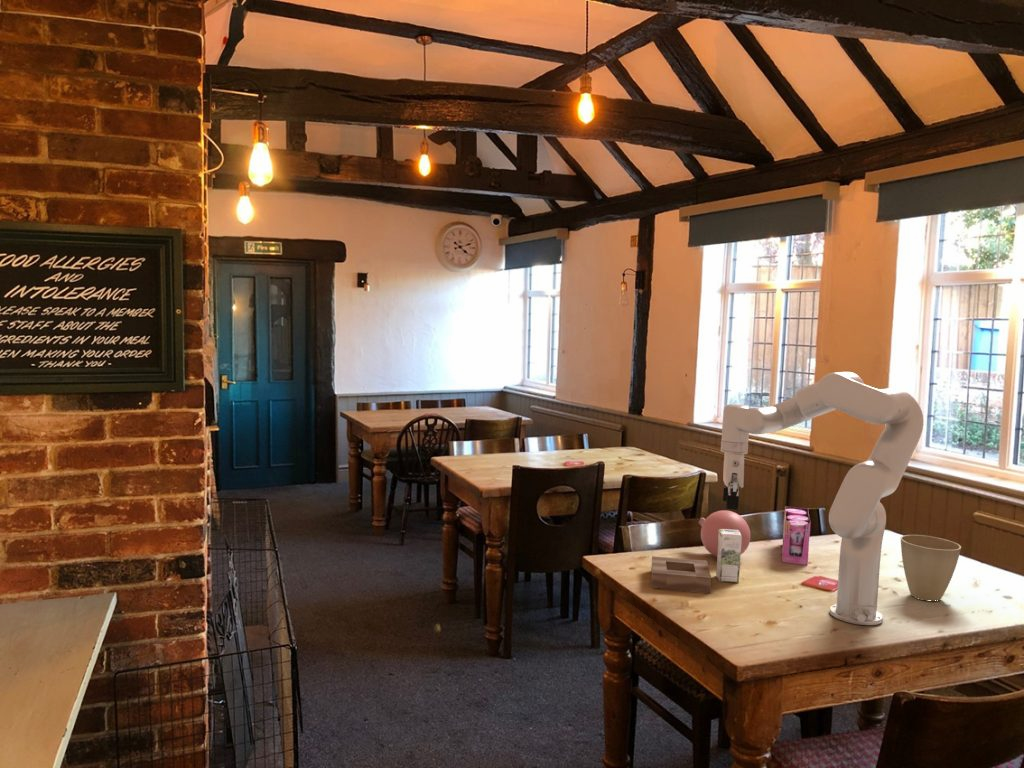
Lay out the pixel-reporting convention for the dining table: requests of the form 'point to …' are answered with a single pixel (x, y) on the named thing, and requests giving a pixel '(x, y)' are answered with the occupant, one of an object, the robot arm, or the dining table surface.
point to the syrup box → (728, 555)
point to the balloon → (723, 521)
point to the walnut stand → (681, 574)
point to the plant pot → (928, 565)
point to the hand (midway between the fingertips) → (730, 505)
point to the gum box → (796, 535)
